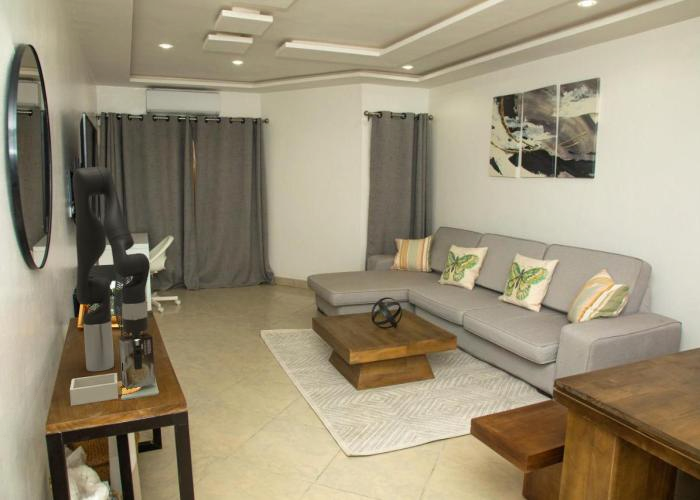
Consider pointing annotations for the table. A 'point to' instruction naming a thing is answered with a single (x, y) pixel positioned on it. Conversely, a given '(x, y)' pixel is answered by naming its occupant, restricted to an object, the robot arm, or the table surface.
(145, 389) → the mat
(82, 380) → the open box
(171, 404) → the table surface
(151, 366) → the coffee box
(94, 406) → the table surface
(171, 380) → the table surface
